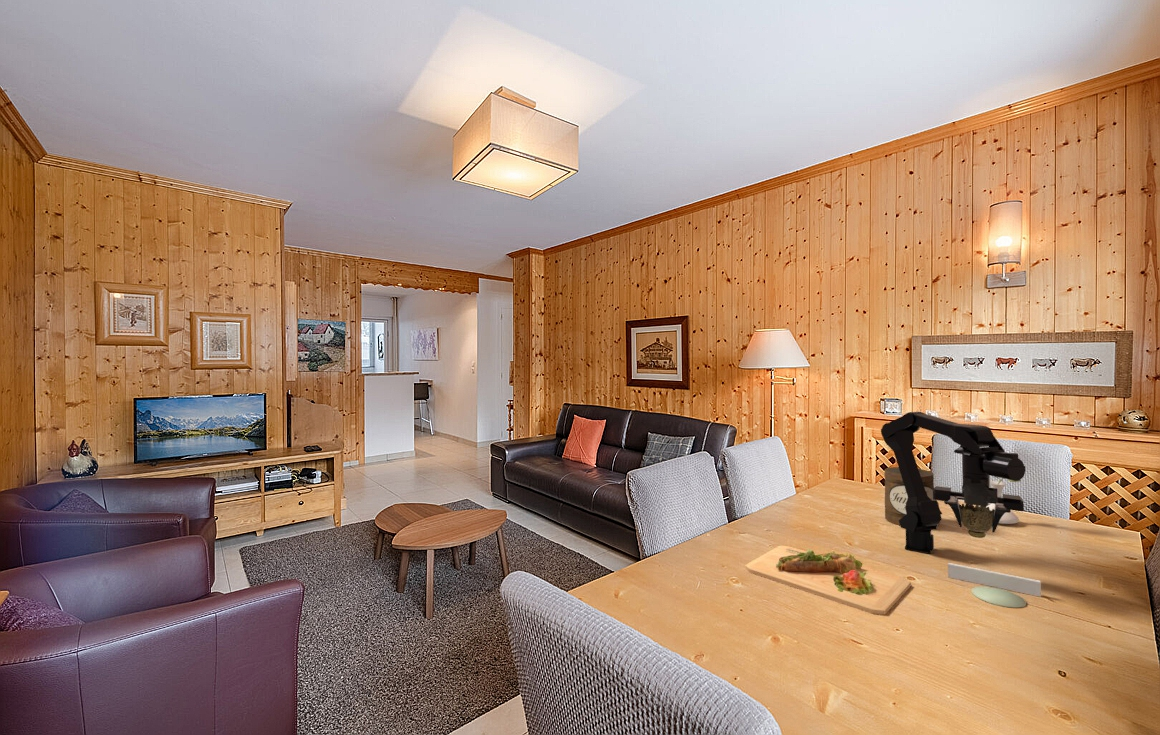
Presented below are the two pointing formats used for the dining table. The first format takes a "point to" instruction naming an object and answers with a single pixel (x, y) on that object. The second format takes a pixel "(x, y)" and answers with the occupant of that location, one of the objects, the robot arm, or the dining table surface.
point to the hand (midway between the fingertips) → (976, 529)
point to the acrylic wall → (995, 579)
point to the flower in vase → (1007, 517)
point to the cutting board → (831, 577)
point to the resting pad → (999, 597)
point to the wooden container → (901, 493)
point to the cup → (976, 519)
